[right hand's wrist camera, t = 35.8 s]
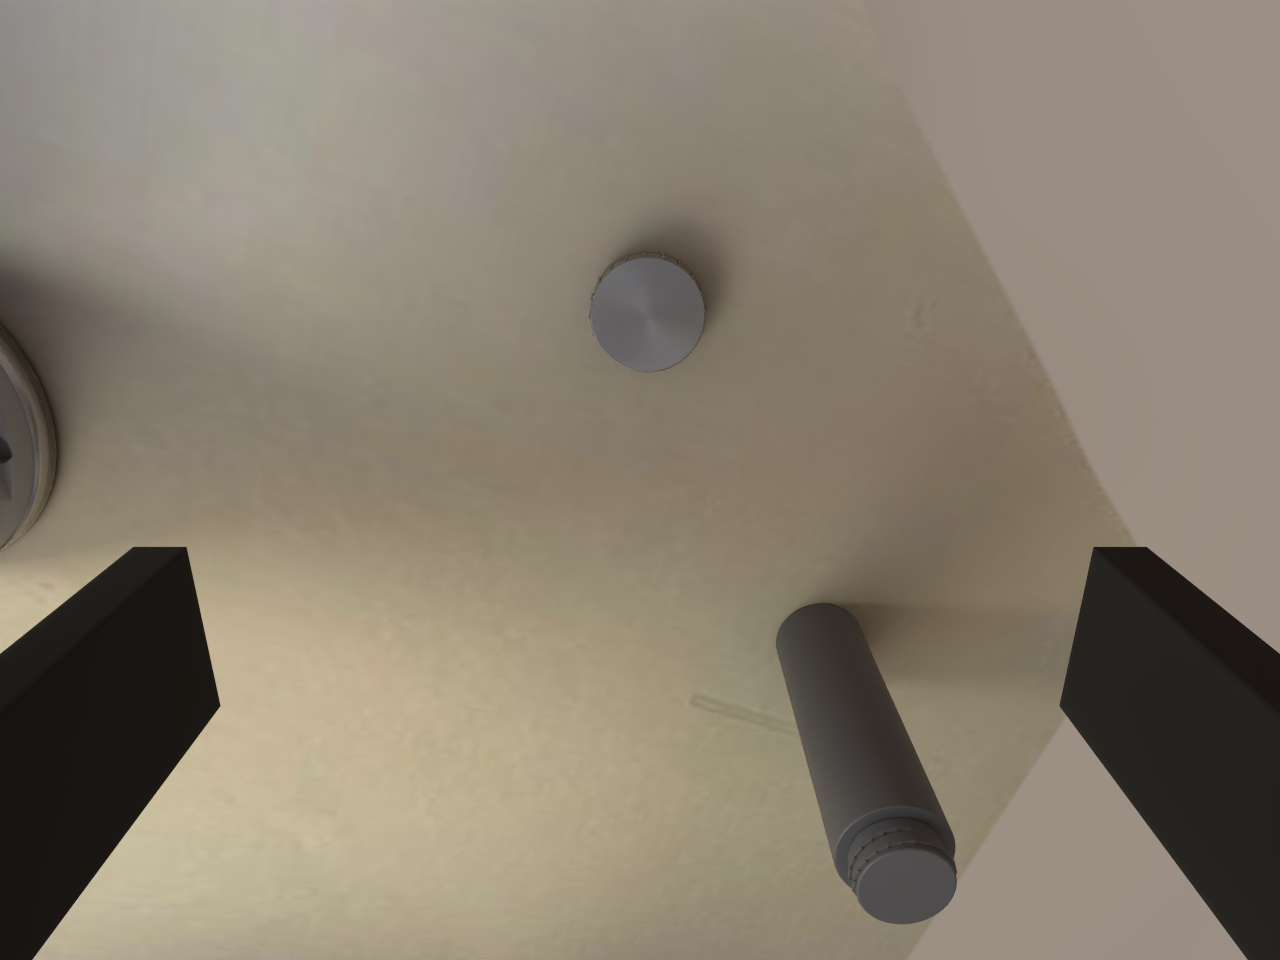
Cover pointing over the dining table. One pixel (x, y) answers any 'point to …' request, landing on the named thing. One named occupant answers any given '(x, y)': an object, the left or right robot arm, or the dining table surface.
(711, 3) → the dining table surface
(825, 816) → the jar
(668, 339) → the lid
